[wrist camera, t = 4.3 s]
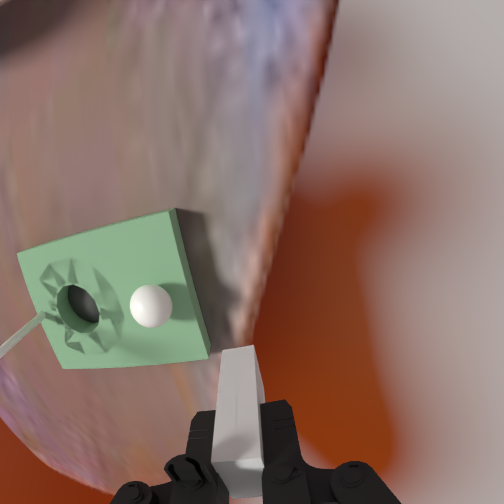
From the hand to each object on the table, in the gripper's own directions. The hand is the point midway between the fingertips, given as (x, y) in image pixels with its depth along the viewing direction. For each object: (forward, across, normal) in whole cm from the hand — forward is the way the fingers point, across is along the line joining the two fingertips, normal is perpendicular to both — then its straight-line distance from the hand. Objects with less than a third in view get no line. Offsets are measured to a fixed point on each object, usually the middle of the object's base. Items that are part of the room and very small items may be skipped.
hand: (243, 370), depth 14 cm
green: (+14, -15, 0) cm, 21 cm away
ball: (+10, -8, 0) cm, 12 cm away
